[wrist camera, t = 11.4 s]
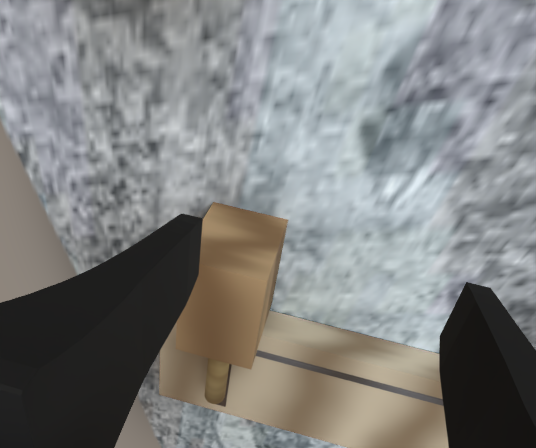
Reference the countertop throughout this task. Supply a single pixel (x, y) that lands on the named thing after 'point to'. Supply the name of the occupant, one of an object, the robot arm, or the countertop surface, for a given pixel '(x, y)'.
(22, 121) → the countertop surface
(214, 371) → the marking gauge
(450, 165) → the countertop surface
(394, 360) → the maple board
